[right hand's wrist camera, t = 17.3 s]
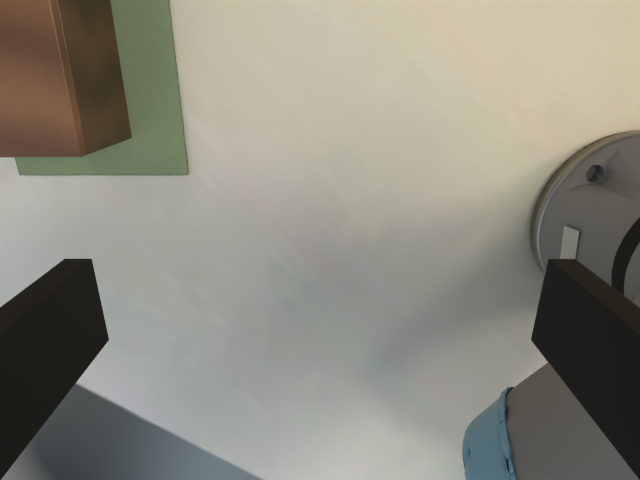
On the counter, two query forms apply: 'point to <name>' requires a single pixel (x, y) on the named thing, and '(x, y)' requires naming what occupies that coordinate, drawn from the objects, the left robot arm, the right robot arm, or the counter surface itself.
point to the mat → (136, 102)
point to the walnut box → (60, 79)
